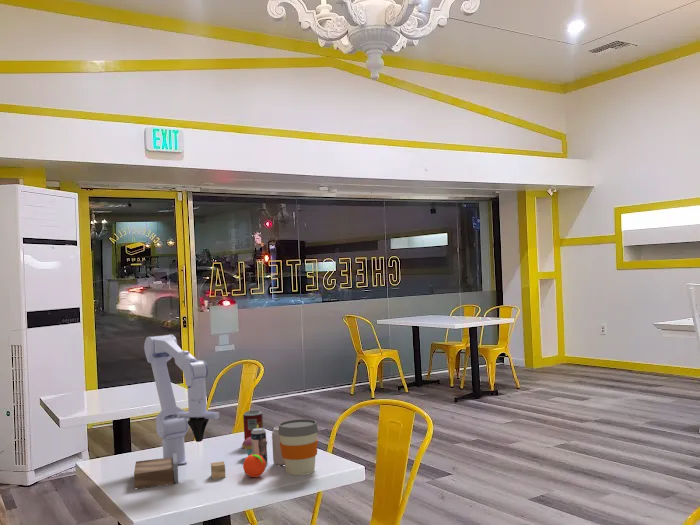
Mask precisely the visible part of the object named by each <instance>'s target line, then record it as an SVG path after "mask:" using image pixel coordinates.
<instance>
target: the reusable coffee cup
mask: <svg viewBox="0 0 700 525" xmlns="http://www.w3.org/2000/svg"><path fill="white" fill-rule="evenodd" d="M278 426H279V432H278V434H279V435H280V440H281V442H280V447H281V453H282V457H283V458H284V463H285V466H284V467H285V473H286V472H287V473H288V474H287V473H286V474H287V475H289V474H291V475H290V476H304V475H303V474H305V475H309V474H312V473H314V472H315V467H316V456H317V455H318V446H319V444H318V442H319V439H318V436H317V435H318V432H319V429H318V428H319V427H318V422H317V421H316V420H314V419H310V418H309V419H307V418H304V419H303V418H302V419H301V418H299V419H291V420H286V421H282V422H280V423H279V424H278ZM313 471H314V472H313ZM308 473H309V474H308Z"/></svg>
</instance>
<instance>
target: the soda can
mask: <svg viewBox="0 0 700 525" xmlns="http://www.w3.org/2000/svg"><path fill="white" fill-rule="evenodd" d="M242 416H243V436H244V437H243V438H244V441H245V440H246V439H247V438H249V437H251V432H252V430H253V429H255V428H257V425H259V427H258V428H264V420H263V418H264V417H263V412H262V411H260V410H247V411H245V413H243V415H242Z"/></svg>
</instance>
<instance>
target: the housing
mask: <svg viewBox="0 0 700 525" xmlns="http://www.w3.org/2000/svg"><path fill="white" fill-rule="evenodd" d="M173 474H174V468H173V459H172V457H170V458H163V457H162V458H155V459H148V460H146V459H145V460H139V461H135V465H134V472H133V483H134V489H135V488H138V489H144V487H146V488H151V486H153V487H159V486H158V485H161V486H166V484H168V485H174V484H175V483H174V479H173Z"/></svg>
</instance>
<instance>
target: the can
mask: <svg viewBox="0 0 700 525" xmlns="http://www.w3.org/2000/svg"><path fill="white" fill-rule="evenodd" d="M278 432H279V425H278V426H275V427H273V431H272V432H271V442H272V460H273V463H274V464H275V466H278V465H280V466H279V467H284V466H283V465H285V463H284V458H283V457H282V453H281V447H280V442H281V440H280V435H279V434H278ZM281 465H282V466H281Z"/></svg>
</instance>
